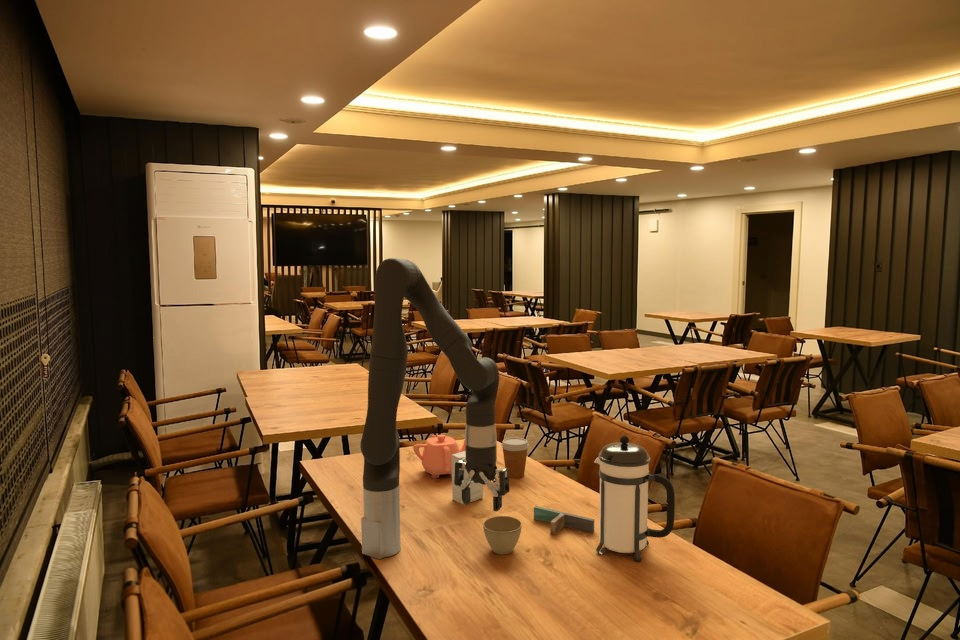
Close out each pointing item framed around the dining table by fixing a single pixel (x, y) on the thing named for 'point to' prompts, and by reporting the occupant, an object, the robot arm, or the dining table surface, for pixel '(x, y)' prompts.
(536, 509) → the t-shaped slab assembly
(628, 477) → the coffee press
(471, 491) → the skincare box
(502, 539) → the flower pot
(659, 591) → the dining table surface
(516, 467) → the disposable coffee cup
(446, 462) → the teapot
